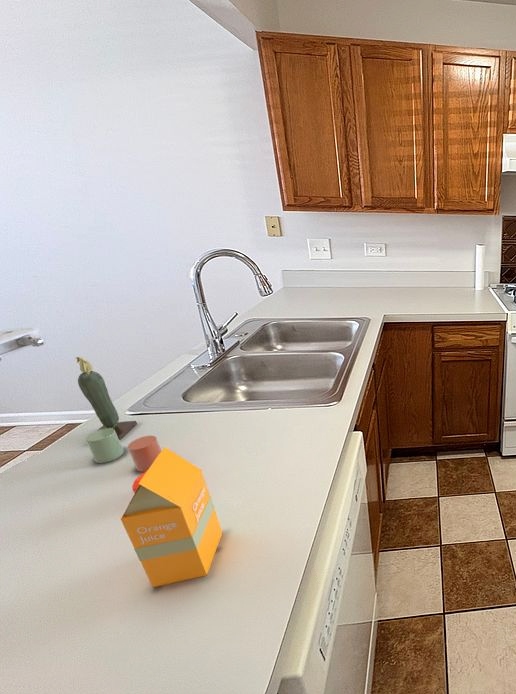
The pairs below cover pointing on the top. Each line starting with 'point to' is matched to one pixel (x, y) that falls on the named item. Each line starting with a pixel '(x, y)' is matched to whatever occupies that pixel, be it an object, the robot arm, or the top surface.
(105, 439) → the mint green cylinder
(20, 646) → the top surface
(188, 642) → the top surface
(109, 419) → the vegetable
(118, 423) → the coaster
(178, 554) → the orange juice
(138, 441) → the rust red cylinder
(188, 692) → the top surface
